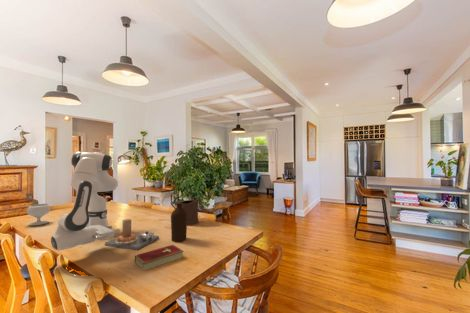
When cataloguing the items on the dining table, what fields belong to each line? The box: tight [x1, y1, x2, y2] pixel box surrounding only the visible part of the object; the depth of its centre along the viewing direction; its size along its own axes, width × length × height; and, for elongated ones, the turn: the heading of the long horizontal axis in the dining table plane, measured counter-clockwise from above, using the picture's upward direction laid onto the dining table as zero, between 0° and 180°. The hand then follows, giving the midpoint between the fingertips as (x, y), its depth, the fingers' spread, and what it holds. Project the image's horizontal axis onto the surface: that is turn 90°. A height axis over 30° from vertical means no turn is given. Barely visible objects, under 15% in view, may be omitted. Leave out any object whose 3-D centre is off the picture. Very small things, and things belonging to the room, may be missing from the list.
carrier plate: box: [104, 231, 160, 251], centre depth 137 cm, size 24×20×6 cm
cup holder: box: [170, 192, 200, 227], centre depth 181 cm, size 18×24×25 cm
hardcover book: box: [134, 244, 184, 271], centre depth 112 cm, size 12×21×4 cm, turn 133°
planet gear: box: [116, 218, 136, 243], centre depth 136 cm, size 11×11×12 cm
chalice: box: [26, 203, 51, 226], centre depth 175 cm, size 14×14×15 cm
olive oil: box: [170, 200, 188, 243], centre depth 141 cm, size 11×11×25 cm
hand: (115, 228), depth 130 cm, fingers open, 8 cm apart
